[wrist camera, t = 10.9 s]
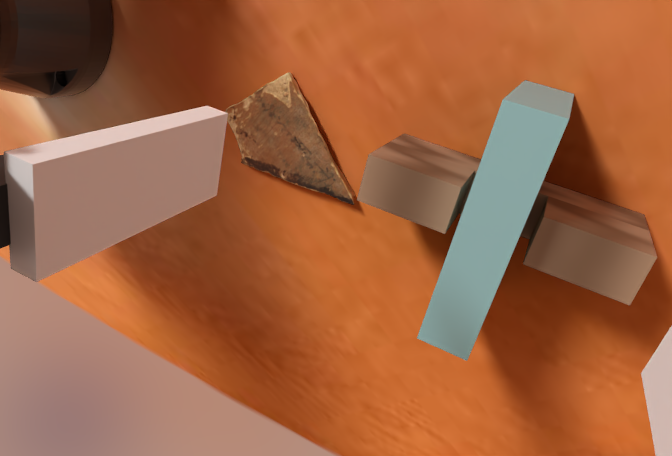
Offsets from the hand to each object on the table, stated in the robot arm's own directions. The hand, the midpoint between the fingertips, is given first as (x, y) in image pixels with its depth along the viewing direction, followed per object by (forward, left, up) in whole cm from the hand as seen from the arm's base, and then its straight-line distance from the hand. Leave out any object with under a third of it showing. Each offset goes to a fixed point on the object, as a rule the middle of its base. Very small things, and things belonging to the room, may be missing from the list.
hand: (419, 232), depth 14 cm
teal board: (+1, -5, -23) cm, 23 cm away
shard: (-15, -6, -23) cm, 28 cm away
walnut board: (+1, -5, -23) cm, 23 cm away
